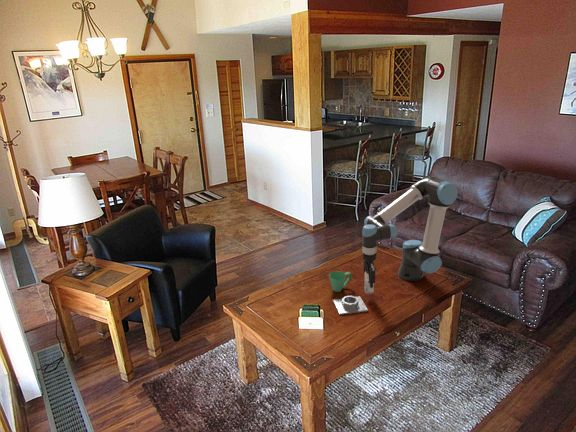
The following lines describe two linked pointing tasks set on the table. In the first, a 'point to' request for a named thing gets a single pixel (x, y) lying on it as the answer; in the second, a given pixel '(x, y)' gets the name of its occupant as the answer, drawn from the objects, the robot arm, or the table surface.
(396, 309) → the table surface
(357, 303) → the duct flange
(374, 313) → the table surface
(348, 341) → the table surface
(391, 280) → the table surface
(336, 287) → the mug
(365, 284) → the pale grey cylinder
